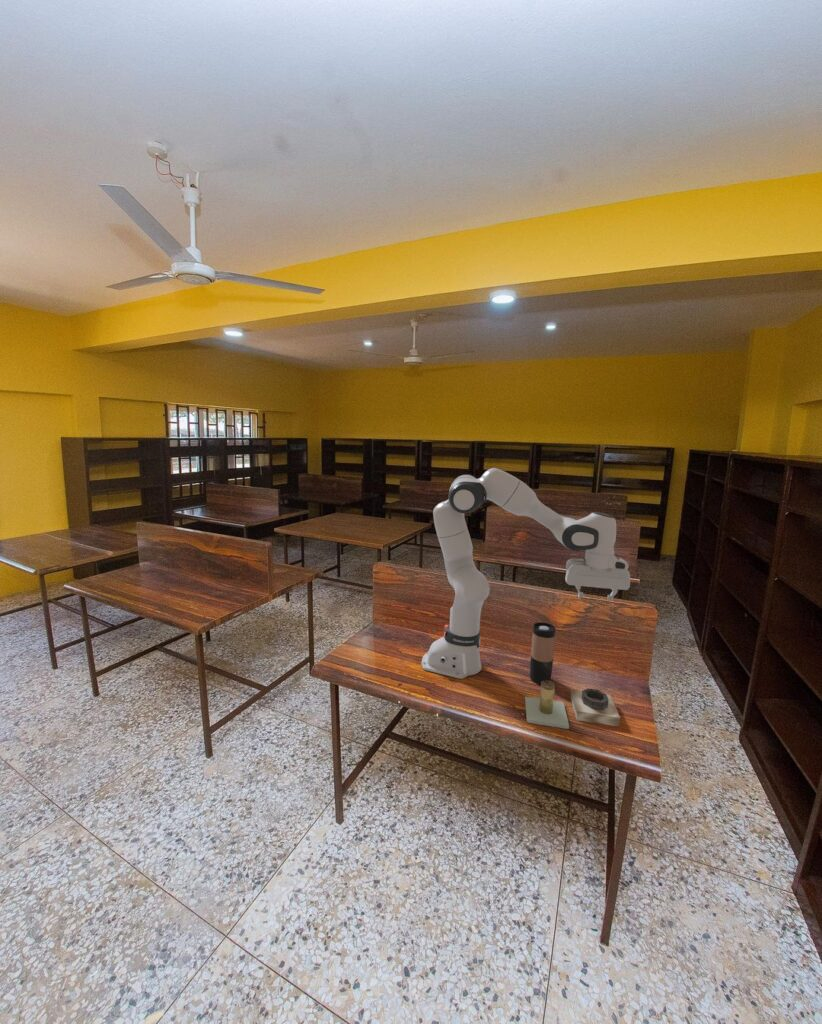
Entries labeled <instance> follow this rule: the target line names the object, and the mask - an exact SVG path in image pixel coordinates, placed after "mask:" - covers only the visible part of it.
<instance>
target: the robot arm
mask: <svg viewBox="0 0 822 1024" xmlns="http://www.w3.org/2000/svg"><path fill="white" fill-rule="evenodd" d="M447 497H448V499H446V500H443V501H441V502H439V503H438V504H436V505H435V507H434V508H433V510H432V511H433V512H432V515H433V523H434V528H435V529H434V530H435V531H436V536H437V539H438V542H439V545H440V548H441V549H440V550H441V552H442V556H443V559H444V560H443V561H444V567H445V572H446V577H447V580H448V582H449V584H450V586H451V587H452V588H453V589H454V592H455V596H454V600H453V604H452V606H451V607H450V610H449V624H445V625H444V627H443V636H442V637H440V638H438V639H436V640H435V641H433V642H432V643H431V645H430V647H429V649H428V651H426V653H424V655H423V656H422V659H421V662H420V663H421V667H422V670H424V671H428V672H432V673H435V674H440V675H443V676H448V677H451V678H455V679H461V680H462V679H465V678H466V677H468V676H469V677H470V676H474V675H476V674H478V673H479V672H481V671H482V668H483V666H482V662H481V656H480V647H481V646H480V645H481V638H482V637H481V631H480V624H481V614H482V613H481V612H482V607H483V605H484V601H486V599H487V598H488V596H489V595H490V589H491V588H490V584H489V581H488V579H487V577H486V576H485V574H483V573H482V572H481V571H480V570H478V569H477V567H476V565H475V563H474V556H473V555H474V554H473V551H474V546H473V542H472V539H471V535H470V532H469V529H468V526H467V522H466V518H465V514H470V513H472V512H473V511H475V510H476V509H478V508H479V507H480V506H482V505H483V504H484V503H486V502H487V501H489V502H493V503H494V504H495V505H497V506H499V507H500V508H502V509H503V510H505V511H507V512H509V513H510V514H513V515H515V516H518V517H523V516H524V517H528V518H531V519H533V520H535V521H536V522H537V523H539V524H540V525H542V526H544V527H545V528H546V529H548V531H549V532H551V535H552V536H553V538H554V539H555V540H556V541H557V542H558V543H561V544H562V546H564V547H565V548H566V549H567V550H570V551H574V552H577V551H579V552H580V551H585V553H584V554H585V556H584V558H576V557H572V558H571V557H570V559H568V560H566V563H565V569H566V573H565V577H564V580H565V583H566V584H567V585H568V586H574V587H575V589H576V591H577V597H578V599H584V592H582V591H581V589H582V588H581V587H588V588H599V589H608V590H609V589H610V590H611V592H610V594H607V595H606V600H607V601H608V602H614V598H615V596H616V595H617V593H618V591H619V590H622V591H627V590H629V589H630V588H631V574H630V571H629V570H628V569H629V563H628V562H627V561H626V560H625V559H623V558H621V557H619V556H615V549H614V548H615V547H614V546H615V543H616V541H617V522H616V518H615V517H613V516H612V515H610V514H607V513H604V512H600V511H599V512H598V511H593V512H591V513H590V514H588V515H587V516H585V517H583V518H579V519H576V518H575V517H573V516H569V515H562V514H559V513H557V512H556V511H554V509H553V510H552V508H550V507H548V506H546V505H545V504H544V503H542V502H541V501H540V500H539V499H538V497H537V493H536V492H535V491H534V490H533V489H532V488H531V487H530V486H529V485H528V484H526V483H524V481H522V480H520V478H517V477H516V476H514V475H512V474H510V473H509V472H507V471H504V470H501V469H500V468H496V467H492V468H489V469H487V470H486V471H484V472H483V474H482V475H481V477H479V478H478V477H476V476H475V475H473V474H471V473H462V474H459V475H458V476H456V477H455V478H454V480H453V481H452V483H451V484H450V487H449V492H448V496H447Z"/></svg>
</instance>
